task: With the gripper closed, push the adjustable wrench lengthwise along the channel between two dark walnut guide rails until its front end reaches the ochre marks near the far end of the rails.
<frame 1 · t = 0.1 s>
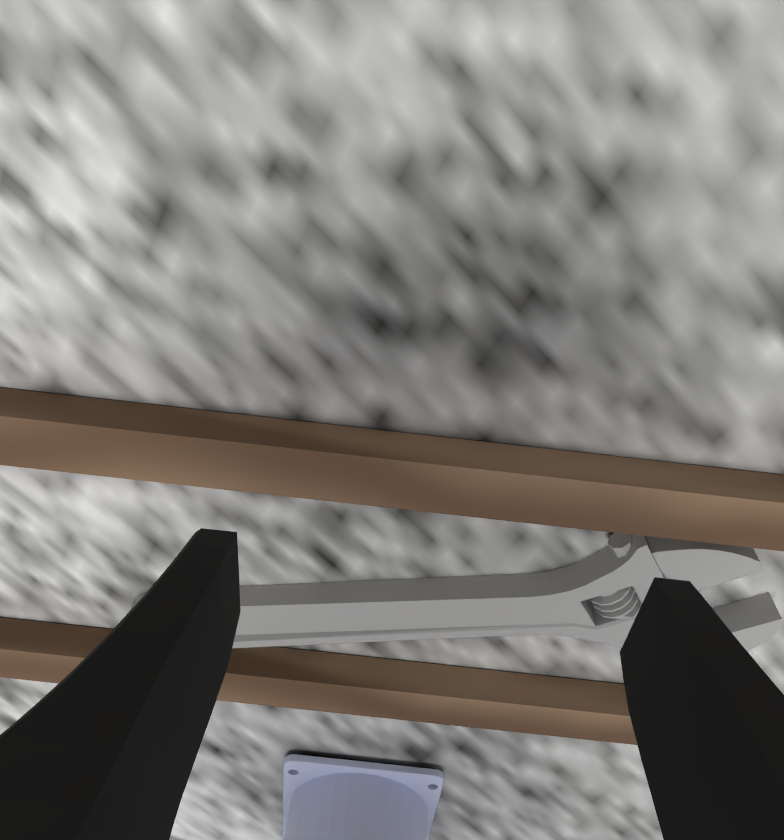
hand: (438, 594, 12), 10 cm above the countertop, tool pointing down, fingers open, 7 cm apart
adjustable wrench: (440, 573, 27), on the countertop
guide channel: (288, 567, 26), on the countertop
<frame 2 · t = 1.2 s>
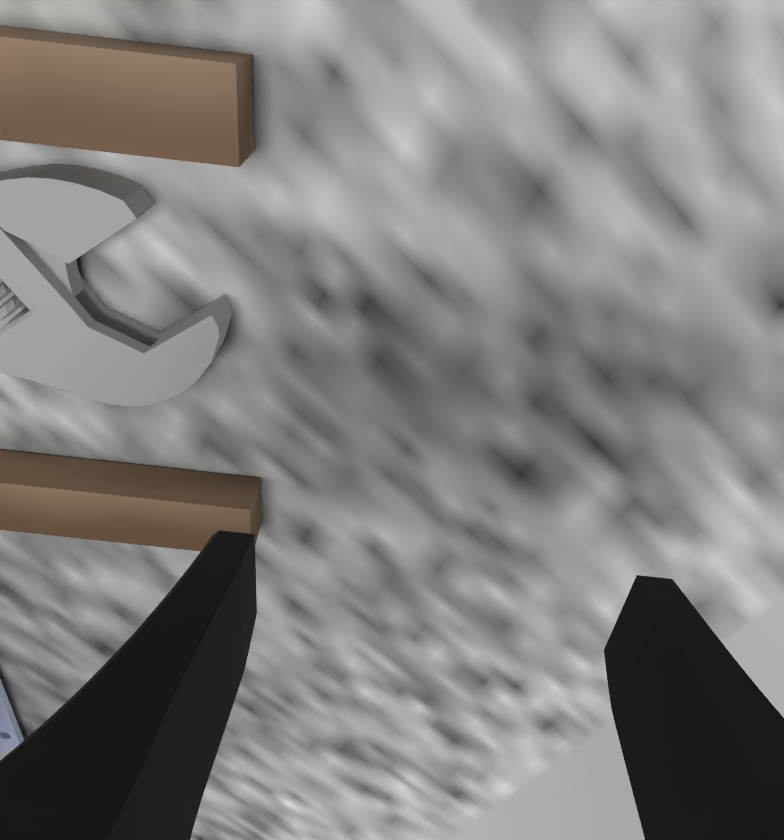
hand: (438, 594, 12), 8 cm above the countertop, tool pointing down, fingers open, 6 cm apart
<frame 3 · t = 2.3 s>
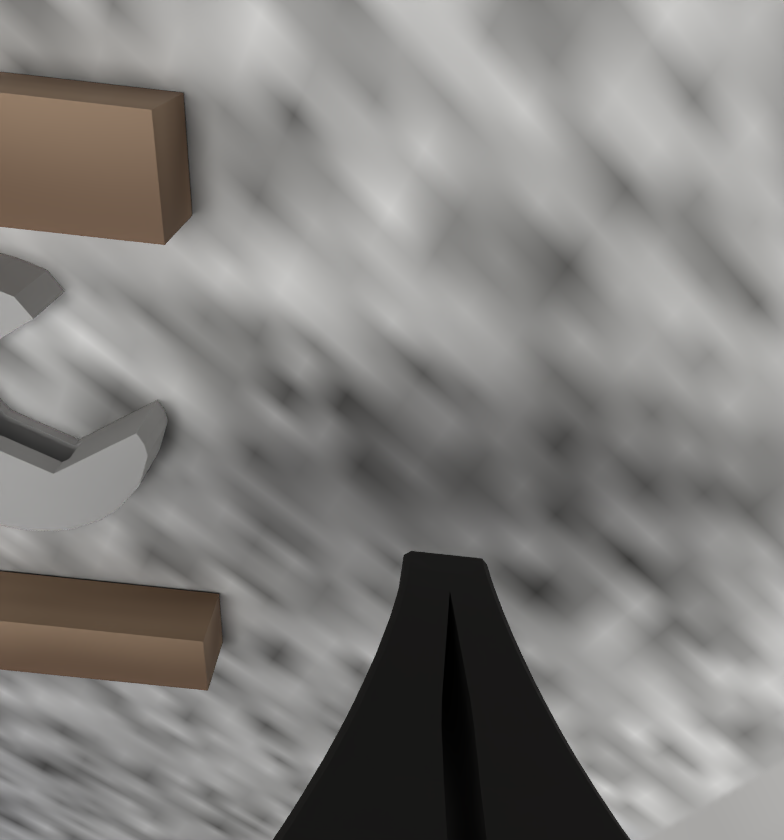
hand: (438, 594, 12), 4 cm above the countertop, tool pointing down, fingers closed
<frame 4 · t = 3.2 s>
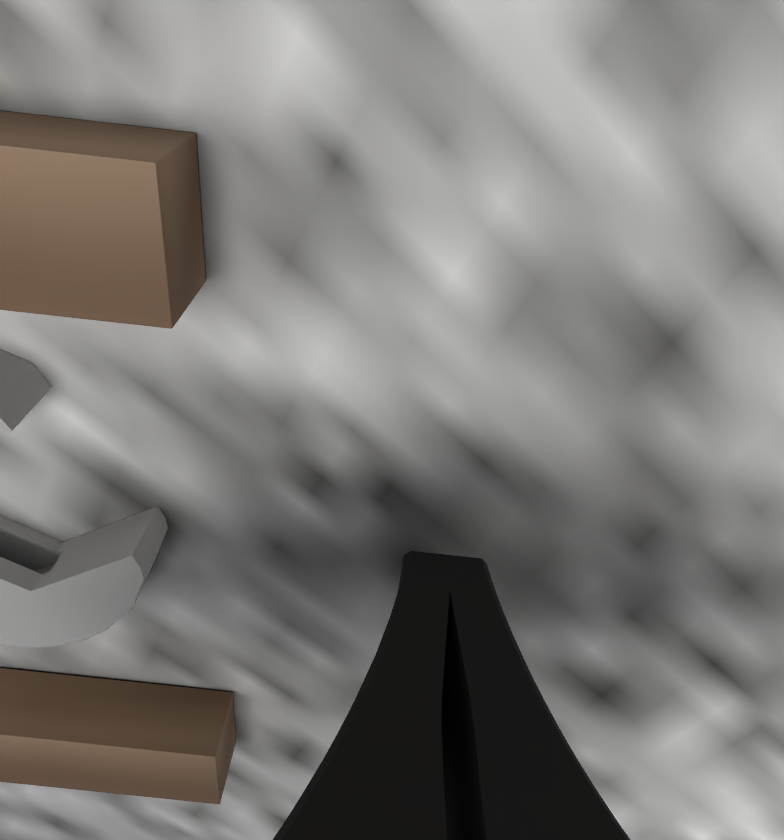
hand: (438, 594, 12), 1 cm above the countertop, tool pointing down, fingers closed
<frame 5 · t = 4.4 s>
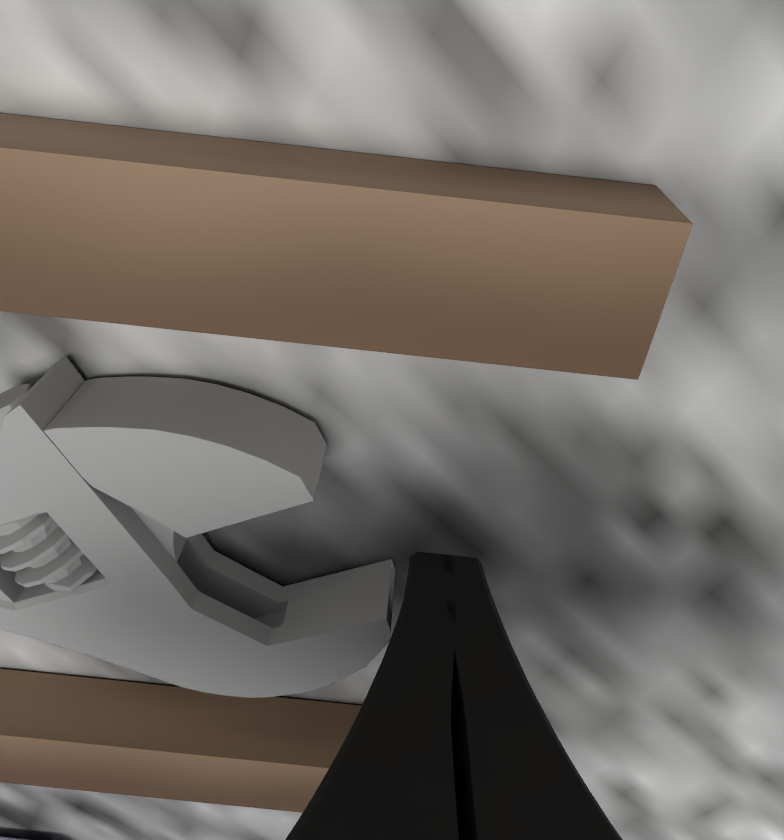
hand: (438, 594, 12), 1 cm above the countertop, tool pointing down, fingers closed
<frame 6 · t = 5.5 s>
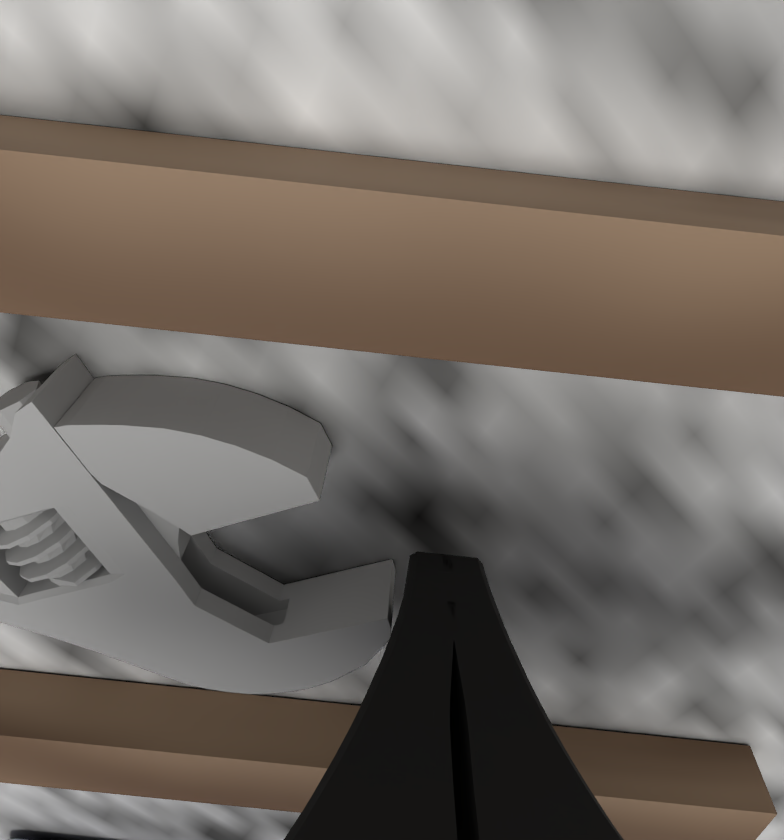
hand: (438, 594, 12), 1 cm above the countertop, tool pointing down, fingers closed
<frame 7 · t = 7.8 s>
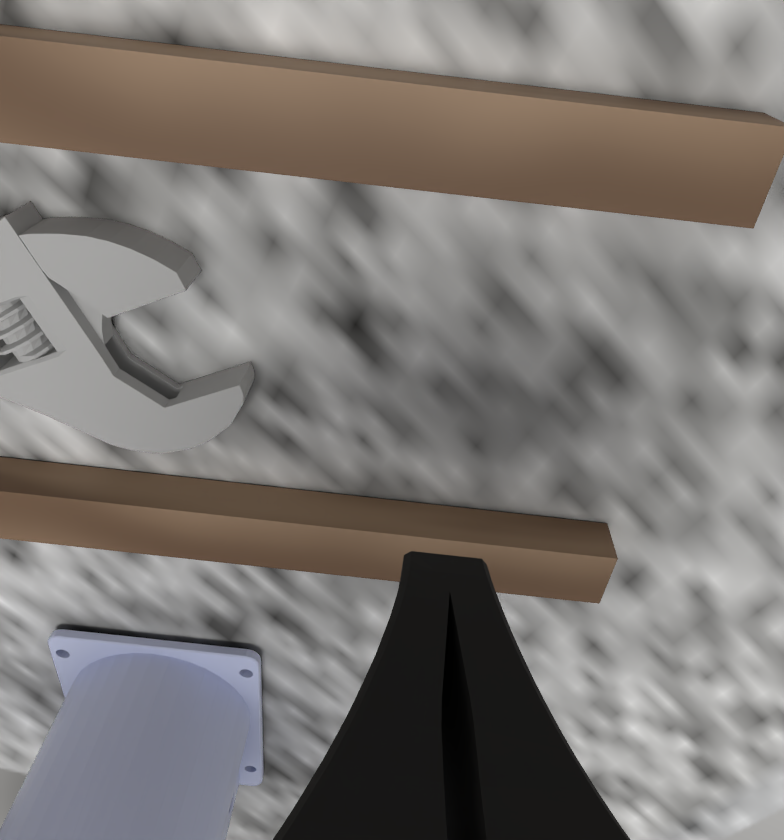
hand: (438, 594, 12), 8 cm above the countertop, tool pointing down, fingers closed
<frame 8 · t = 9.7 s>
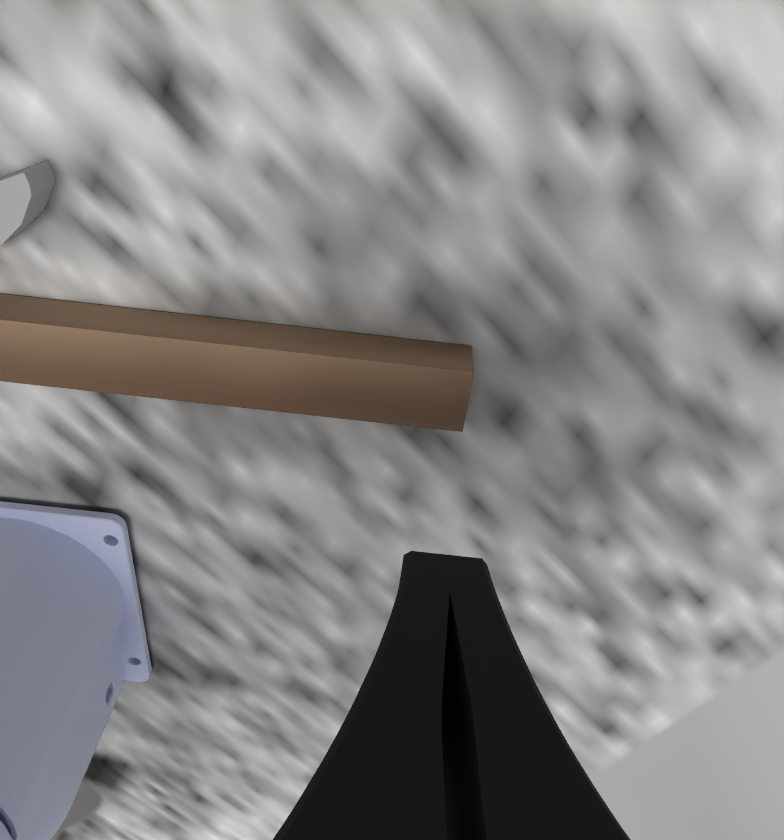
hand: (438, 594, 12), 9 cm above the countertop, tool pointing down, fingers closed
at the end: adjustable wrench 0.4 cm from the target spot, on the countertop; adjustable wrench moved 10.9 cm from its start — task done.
